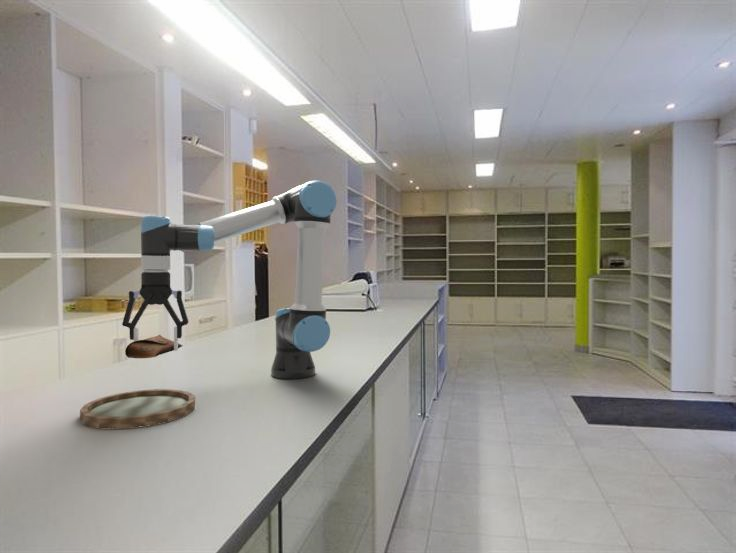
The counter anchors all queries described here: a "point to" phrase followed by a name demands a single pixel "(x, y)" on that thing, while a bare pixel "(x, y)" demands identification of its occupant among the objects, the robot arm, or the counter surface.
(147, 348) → the sunglasses case
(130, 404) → the tray
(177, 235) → the robot arm
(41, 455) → the counter surface
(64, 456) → the counter surface
